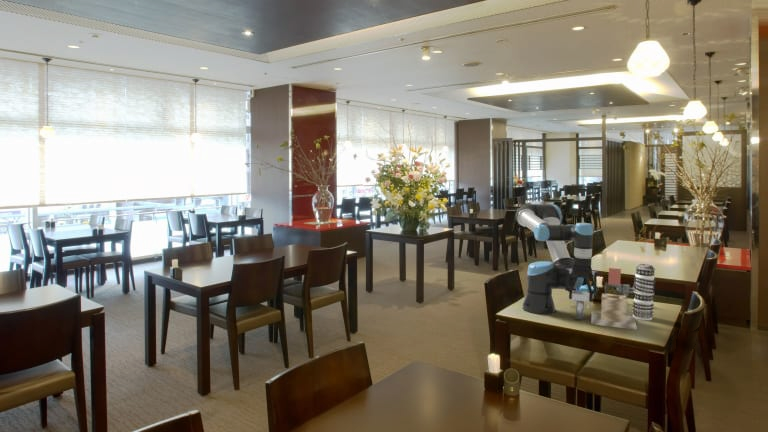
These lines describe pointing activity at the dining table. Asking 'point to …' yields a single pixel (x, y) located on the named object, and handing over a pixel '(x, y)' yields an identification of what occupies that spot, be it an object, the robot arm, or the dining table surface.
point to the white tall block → (580, 302)
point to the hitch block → (613, 311)
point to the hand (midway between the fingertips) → (580, 306)
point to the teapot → (585, 289)
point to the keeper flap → (614, 277)
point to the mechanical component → (625, 289)
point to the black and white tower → (644, 292)
